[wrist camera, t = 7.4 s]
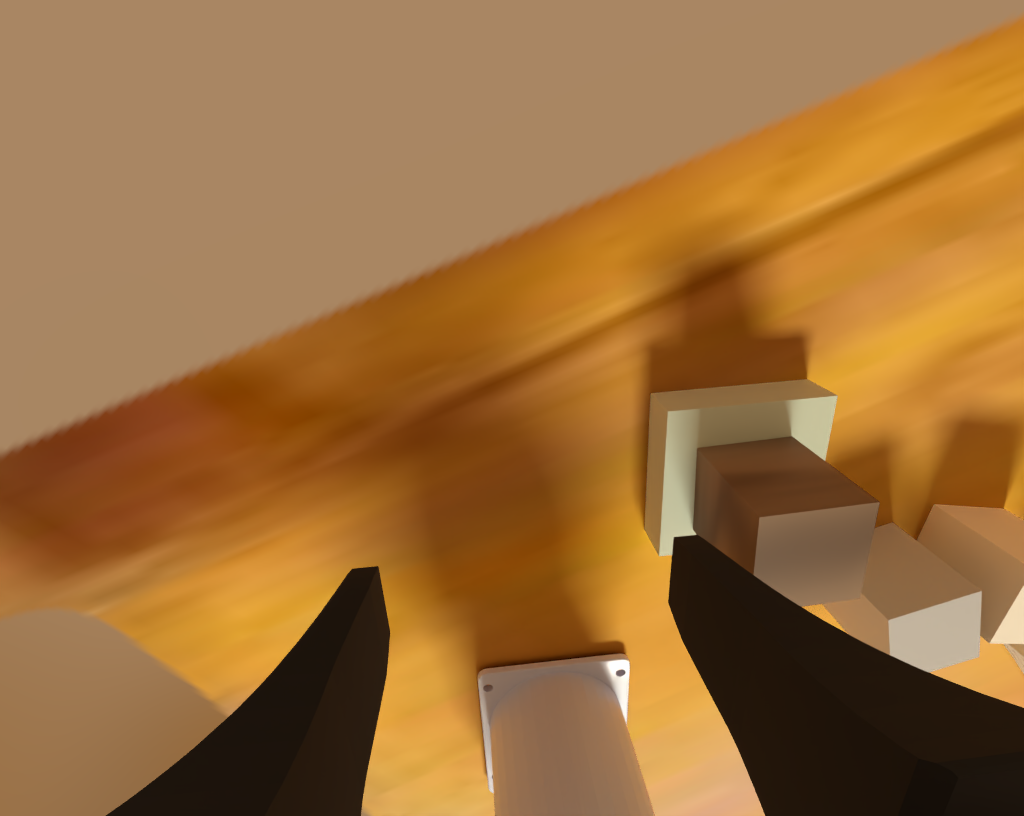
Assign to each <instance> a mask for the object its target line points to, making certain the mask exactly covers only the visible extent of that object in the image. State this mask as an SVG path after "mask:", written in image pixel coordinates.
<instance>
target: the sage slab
mask: <svg viewBox="0 0 1024 816" xmlns="http://www.w3.org/2000/svg"><path fill="white" fill-rule="evenodd" d="M836 401H837V395H835V394H834V393H832V392H830V391H828V390H826V389H824V388H823V387H821V386H819V385H817V384H815V383H813V382H812V381H810V380H808V379H803V380H791V381H780V382H769V383H758V384H747V385H736V386H724V387H713V388H702V389H691V390H680V391H669V392H658V393H650V414H649V437H648V460H647V482H646V505H645V527H644V530H645V531H646V533H647V535H648V537H649V539H650V540H651V542H652V544H653V546H654V548H655V550H656V551H657V553H658V555H659V556H666V555H672V551H673V539H674V537H679V536H690V535H696V533H695V532H694V530H693V520H694V499H695V478H696V457H697V448H701V447H708V446H717V445H725V444H733V443H741V442H750V441H758V440H766V439H774V438H783V437H791V436H792V437H794V438H795V439H796V440H798V441H799V442H800V443H802V444H803V445H804V446H806V447H807V448H808V449H810V450H811V451H812V452H814V453H815V454H816V455H818V456H819V457H820V458H822V459H823V460H824V461H825V459H826V453H827V448H828V443H829V438H830V433H831V427H832V422H833V417H834V412H835V407H836Z"/></svg>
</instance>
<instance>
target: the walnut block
mask: <svg viewBox="0 0 1024 816" xmlns="http://www.w3.org/2000/svg"><path fill="white" fill-rule="evenodd" d="M879 504H880V502H879V501H878V500H876V499H875V498H874V497H872V496H871V495H870V494H868V493H867V492H866V491H864V490H863V489H862V488H860V487H859V486H858V485H856V484H855V483H854V482H852V481H851V480H850V479H848V478H847V477H846V476H844V475H843V474H842V473H840V472H839V471H838V470H836V469H835V468H834V467H832V466H831V465H830V464H828V463H827V462H826V461H824V460H823V459H822V458H820V457H819V456H818V455H816V454H815V453H814V452H812V451H811V450H810V449H808V448H807V447H806V446H804V445H803V444H802V443H800V442H799V441H798V440H796V439H795V438H794V437H792V436H791V437H783V438H774V439H766V440H758V441H750V442H741V443H733V444H725V445H717V446H708V447H701V448H697V457H696V478H695V499H694V520H693V530H694V532H695V533H696V535H699V536H700V537H702V538H703V539H705V540H706V541H708V542H709V543H710V544H712V545H713V546H714V547H716V548H717V549H719V550H720V551H721V552H723V553H724V554H725V555H727V556H728V557H729V558H731V559H732V560H733V561H735V562H736V563H738V564H739V565H740V566H742V567H743V568H744V569H746V570H747V571H749V572H750V573H751V574H753V575H754V576H756V577H757V578H758V579H760V580H761V581H763V582H764V583H766V584H767V585H768V586H770V587H771V588H773V589H774V590H776V591H777V592H779V593H780V594H782V595H783V596H785V597H786V598H788V599H789V600H791V601H793V602H794V603H796V604H797V605H799V606H801V607H802V606H809V605H817V604H824V603H832V602H839V601H847V600H854V599H860V597H861V592H862V587H863V582H864V577H865V572H866V567H867V562H868V557H869V553H870V548H871V543H872V538H873V533H874V528H875V523H876V518H877V513H878V508H879Z"/></svg>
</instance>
